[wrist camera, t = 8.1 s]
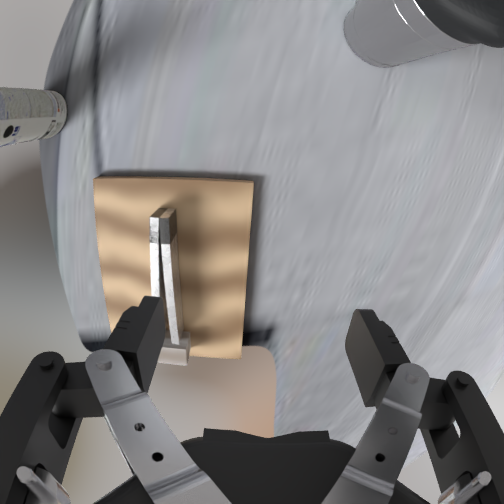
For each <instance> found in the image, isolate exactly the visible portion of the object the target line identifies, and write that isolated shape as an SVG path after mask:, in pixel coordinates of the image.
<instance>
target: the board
mask: <svg viewBox="0 0 504 504" xmlns="http://www.w3.org/2000/svg"><path fill="white" fill-rule="evenodd" d="M93 186H94V205H95V219H96V231H97V241H98V250H99V259H100V267H101V274H102V281H103V288H104V294H105V300H106V306H107V312H108V318H109V323H110V328H111V333H112V331H113V330H114V328H115V326H116V324H117V322H119V319H120V317H121V315H122V314H123V312H124V311H126V310H127V309H128V308H130V307H131V306H137V307H138V306H139V304H140V303H141V301H142V299H143V297H144V296H145V295H146V296H152V295H151V270H150V242H149V217H150V216H151V215H152V214H153V213H154V212H155V211H156V210H157V209H158V208H176V214H177V243H178V260H179V275H180V288H181V300H182V312H183V322H184V329H183V333H182V336H181V340H180V344H179V345H178V344H172V341H171V334H170V326H169V318H168V310H167V319H168V327H167V329H166V332H165V340H164V343H163V346H162V349H161V352H160V355H159V358H158V361H157V363H166V364H175V365H185V366H186V365H187V363H188V359H189V356H200V357H213V358H229V359H241V351H242V337H243V323H244V309H245V295H246V281H247V268H248V254H249V240H250V227H251V213H252V200H253V187H254V181H248V180H232V179H212V178H188V177H142V176H108V177H96V178H94V179H93Z"/></svg>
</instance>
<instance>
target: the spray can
mask: <svg viewBox="0 0 504 504" xmlns="http://www.w3.org/2000/svg"><path fill="white" fill-rule="evenodd" d="M66 118H67V104H66V101H65V99H64V98H63V96H62V95H60V94H59V93H57V92H55V91H49V90H37V89H22V88H5V87H0V147H1V146H6V145H11V144H17V143H22V142H28V141H33V140H40V139H46V138H50V137H52V136H54V135H56V134H57V133H58V132H59V131H61V129H62V128H63V126H64V124H65V122H66Z"/></svg>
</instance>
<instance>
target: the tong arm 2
mask: <svg viewBox="0 0 504 504" xmlns="http://www.w3.org/2000/svg"><path fill="white" fill-rule="evenodd" d="M159 226H160V241H161V249H162V261H163V272H164V283H165V292H166V301H167V310H168V318H169V326H170V334H171V341H172V344H178V345H179V344H180V340H181V336H182V333H183V329H184V322H183V312H182V300H181V288H180V275H179V260H178V243H177V214H176V208H167V210H166V211H165V212H164V213H163V214H162V215H161V216H160V218H159Z"/></svg>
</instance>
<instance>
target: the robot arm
mask: <svg viewBox="0 0 504 504" xmlns="http://www.w3.org/2000/svg"><path fill="white" fill-rule="evenodd" d="M344 33H345V37H346V40H347V42H348V44H349V46H350V47H351V49H352V50H353V51H354V52H355V54H356V55H357V56H359V57H360V58H361V59H362V60H364V61H365V62H367V63H369V64H371V65H374V66H377V67H384V68H385V67H393V66H397V65H400V64H403V63H406V62H410V61H413V60H417V59H420V58H423V57H427V56H431V55H434V54H438V53H442V52H446V51H450V50H454V49H458V48H462V47H466V46H470V45H475V44H479V43H482V44H484V45H487V46H491V47H497V48H503V47H504V0H356V5H355V7H354V8H353V9H352V10H351V11H349V13H348V14H347V16H346V18H345V21H344ZM395 336H396V335H395V334H394V332H393V330H392V329H391V327H390V326H388V325H387V324H386V323H385V322H384V321H379V319H378V317H377V316H376V314H375V312H374V311H373V310H372V309H356V310H355V311H354V313H353V316H352V320H351V323H350V326H349V330H348V333H347V337H346V342H345V349H346V353H347V356H348V359H349V361H350V364H351V367H352V370H353V373H354V375H355V378H356V381H357V384H358V387H359V390H360V393H361V396H362V399H363V402H364V405H365V407H373V406H376V409H377V410H376V412H375V414H374V416H373V418H372V420H371V422H370V424H369V425H368V427H367V429H366V431H365V433H364V434H363V436H362V438H361V440H360V441H359V443H358V445H357V447H356V448H354V447H352V446H350V445H348V444H346V443H343V442H341V441H337V440H333V439H330V438H329V433H328V431H306V432H295V433H291V434H287V435H282V436H277V437H272V438H264V437H259V436H255V435H251V434H246V433H242V432H239V431H233V430H218V429H206V428H204V434H203V437H197V438H192V439H189V440H185V441H183V442H179V441H178V439H177V438H176V437H175V435H174V434H173V432H172V431H171V429H170V428H169V426H168V425H167V423H166V422H165V420H164V419H163V417H162V416H161V414H160V413H159V411H158V410H157V408H156V406H155V405H154V403H153V402H152V400H151V399H150V397H149V395H148V394H147V393H148V390H149V386H150V383H151V380H152V377H153V374H154V370H155V368H156V364H157V361H158V358H159V355H160V352H161V349H162V346H163V343H164V340H165V317H164V304H163V298H162V297H156V296H146V295H145V296H144V297H143V299H142V301H141V303H140V304H139V306H138V307H137V306H131V307H130V308H128V309H127V310H126V311H124V312H123V314H122V315H121V317H120V319H119V322H117V324H116V326H115V328H114V330H113V331H112V333H111V335H110V337H109V339H108V341H107V342H106V344H105V346H104V348H103V349H102V350H98V351H95V352H93V353H92V354H90V355H89V356H88V357H87V359H86V361H85V362H75V363H65V361H64V359H63V357H62V356H61V355H60V354H59V353H56V352H43V353H41V354H39V355H37V356H36V357H35V358H34V359H33V360H32V361H31V363H30V365H29V366H28V368H27V369H26V371H25V373H24V374H23V376H22V378H21V380H20V381H19V383H18V385H17V387H16V388H15V390H14V392H13V394H12V396H11V397H10V399H9V401H8V403H7V405H6V406H5V408H4V410H3V412H2V414H1V416H0V504H70V497H69V495H68V493H67V492H66V490H65V489H64V488H63V487H62V486H61V484H62V481H63V477H64V474H65V471H66V467H67V464H68V461H69V457H70V455H71V451H72V448H73V445H74V442H75V439H76V436H77V433H78V430H79V427H80V424H81V422H82V419H83V417H104V418H105V421H106V423H107V425H108V427H109V429H110V431H111V433H112V435H113V438H114V440H115V442H116V444H117V446H118V448H119V450H120V451H121V454H122V456H123V458H124V459H125V461H126V463H127V465H128V467H129V469H130V471H131V473H132V474H133V476H132V477H131V478H129V479H128V480H127V481H126V482H124V483H122V484H121V485H120V486H118V487H117V488H115V489H114V490H112V491H111V492H109V493H108V494H107V495H105V496H104V497H102V498H101V499H99V500H97V501H96V502H94V503H93V504H430V503H429V502H427V501H426V500H424V499H423V498H421V497H420V496H419V495H417V494H416V493H414V492H413V491H412V490H410V489H409V488H407V487H406V486H405V485H403V484H402V483H400V482H399V481H398V480H397V478H398V476H399V474H400V471H401V469H402V467H403V465H404V462H405V460H406V457H407V455H408V452H409V450H410V447H411V445H412V442H413V440H414V437H415V434H416V431H417V429H418V428H419V429H420V430H421V433H422V435H423V438H424V441H425V444H426V447H427V450H428V453H429V456H430V459H431V462H432V464H433V468H434V471H435V474H436V478H437V481H438V484H439V487H440V491H441V495H440V497H439V500H438V504H504V433H503V431H502V429H501V428H500V425H499V423H498V422H497V420H496V418H495V416H494V414H493V412H492V410H491V408H490V407H489V405H488V403H487V401H486V399H485V398H484V396H483V394H482V392H481V391H480V389H479V387H478V385H477V384H476V382H475V380H474V379H473V378H472V377H471V376H470V375H469V374H467V373H465V372H462V371H453V372H451V373H450V374H449V375H448V377H447V378H446V380H442V379H435V378H430V377H429V374H428V372H427V371H426V370H425V369H424V368H423V367H421V366H419V365H417V364H413V363H411V362H410V360H409V358H408V357H407V355H406V353H405V351H404V350H403V348H402V346H401V344H400V343H399V341H398V339H397V337H395ZM455 420H456V422H457V424H458V426H459V428H460V433H461V434H460V438H459V436H458V434H457V431H456V429H455V427H454V424H453V422H454V421H455Z"/></svg>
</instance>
